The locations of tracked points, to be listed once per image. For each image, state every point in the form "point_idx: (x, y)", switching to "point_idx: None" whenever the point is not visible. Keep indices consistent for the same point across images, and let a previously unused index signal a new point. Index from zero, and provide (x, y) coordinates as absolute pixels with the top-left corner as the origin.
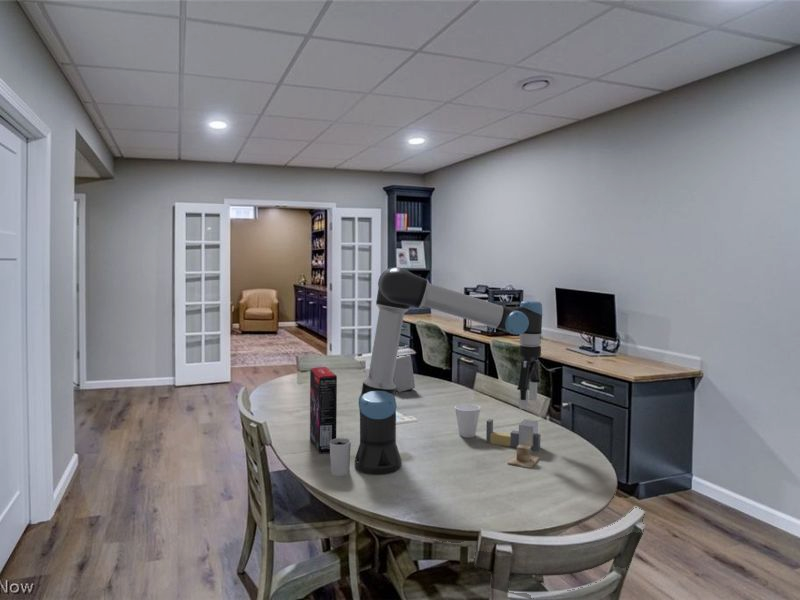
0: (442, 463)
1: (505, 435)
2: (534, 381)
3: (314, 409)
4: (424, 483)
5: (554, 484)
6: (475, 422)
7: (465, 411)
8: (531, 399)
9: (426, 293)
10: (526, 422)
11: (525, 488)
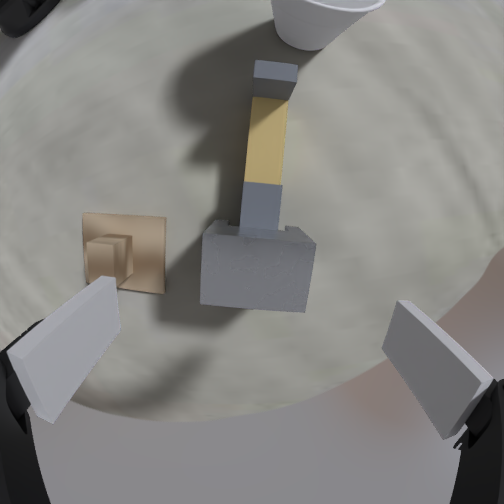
0: (53, 67)
1: (254, 158)
2: (474, 420)
3: None
4: None
5: None
6: (298, 25)
7: None
8: (393, 319)
9: None
10: (261, 263)
11: (12, 277)
